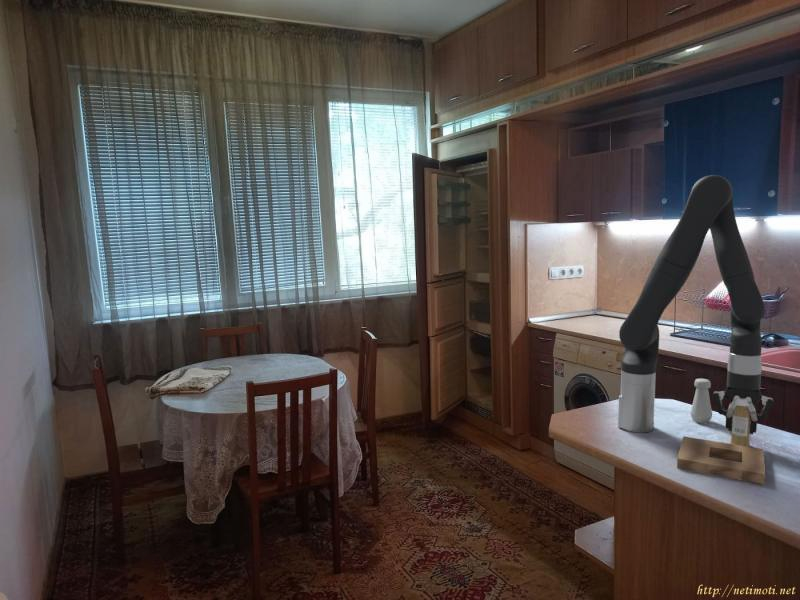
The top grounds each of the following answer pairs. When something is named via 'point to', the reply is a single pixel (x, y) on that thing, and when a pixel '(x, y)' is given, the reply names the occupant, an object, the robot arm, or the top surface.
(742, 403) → the sprinkles bottle
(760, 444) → the top surface
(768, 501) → the top surface
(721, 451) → the holder board
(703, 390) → the salt shaker
